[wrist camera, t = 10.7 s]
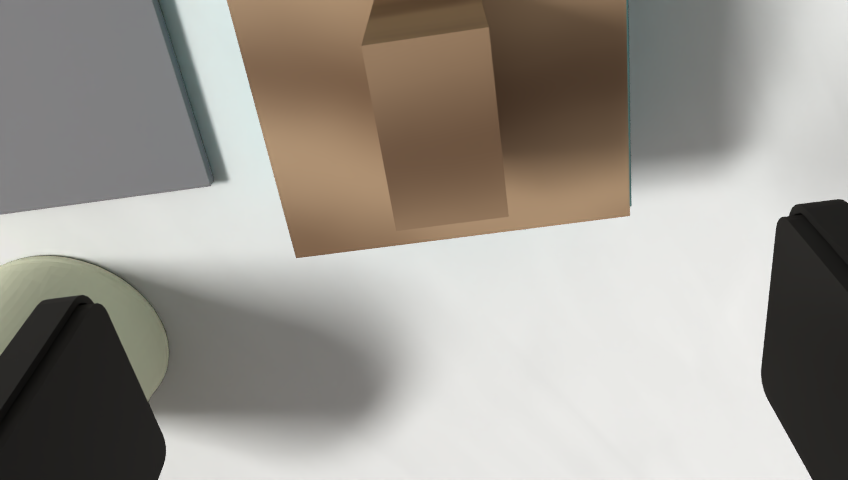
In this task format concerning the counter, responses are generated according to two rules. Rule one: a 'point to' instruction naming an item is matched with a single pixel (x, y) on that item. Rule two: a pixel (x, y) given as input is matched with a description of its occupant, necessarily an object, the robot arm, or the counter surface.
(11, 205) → the mat
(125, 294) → the can
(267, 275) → the counter surface
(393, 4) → the lid
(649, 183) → the counter surface
